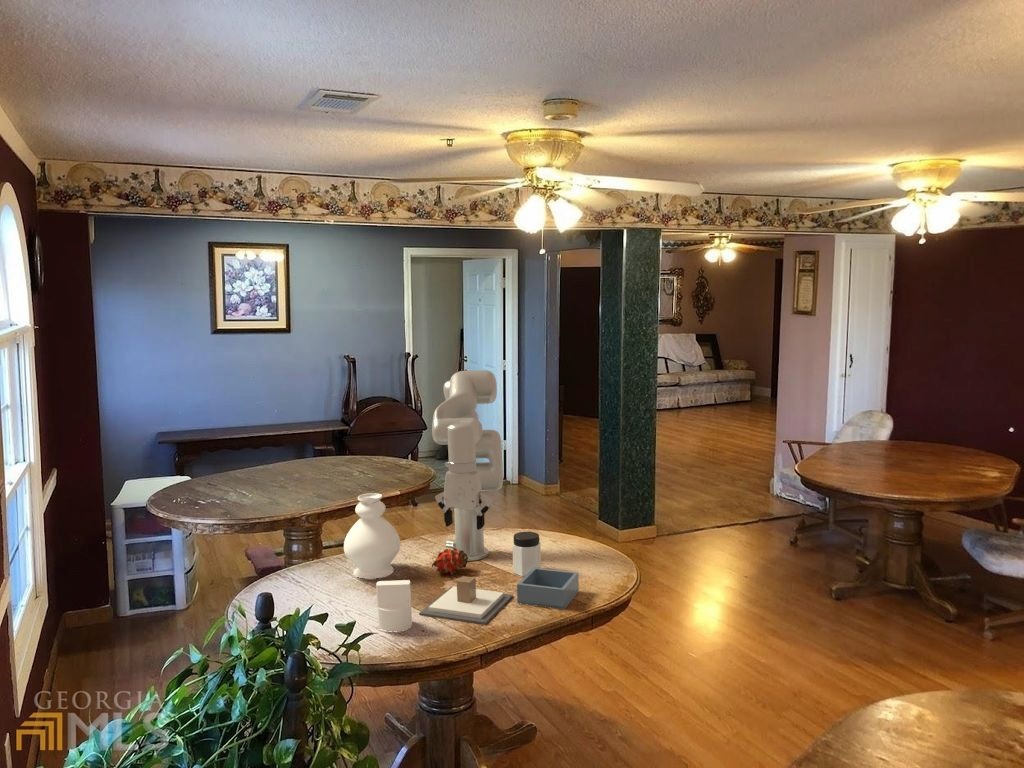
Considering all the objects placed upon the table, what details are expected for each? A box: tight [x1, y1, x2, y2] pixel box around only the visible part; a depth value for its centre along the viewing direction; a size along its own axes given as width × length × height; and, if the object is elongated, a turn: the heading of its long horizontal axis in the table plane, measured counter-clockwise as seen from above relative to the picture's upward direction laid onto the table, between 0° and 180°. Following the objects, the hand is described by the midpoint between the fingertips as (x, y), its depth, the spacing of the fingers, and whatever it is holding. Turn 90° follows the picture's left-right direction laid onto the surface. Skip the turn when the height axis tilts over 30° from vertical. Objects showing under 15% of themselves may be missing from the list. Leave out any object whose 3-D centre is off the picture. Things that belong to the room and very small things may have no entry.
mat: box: [418, 586, 514, 626], centre depth 224 cm, size 20×20×1 cm
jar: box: [512, 531, 542, 578], centre depth 248 cm, size 9×8×12 cm
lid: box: [429, 575, 505, 619], centre depth 223 cm, size 16×16×7 cm
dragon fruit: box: [431, 547, 468, 576], centre depth 250 cm, size 8×8×12 cm
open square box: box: [516, 567, 580, 610], centre depth 228 cm, size 14×14×6 cm
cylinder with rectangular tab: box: [375, 579, 413, 633], centre depth 211 cm, size 9×9×12 cm
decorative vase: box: [343, 492, 401, 580], centre depth 251 cm, size 18×18×25 cm
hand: (464, 526), depth 221 cm, fingers open, 9 cm apart
